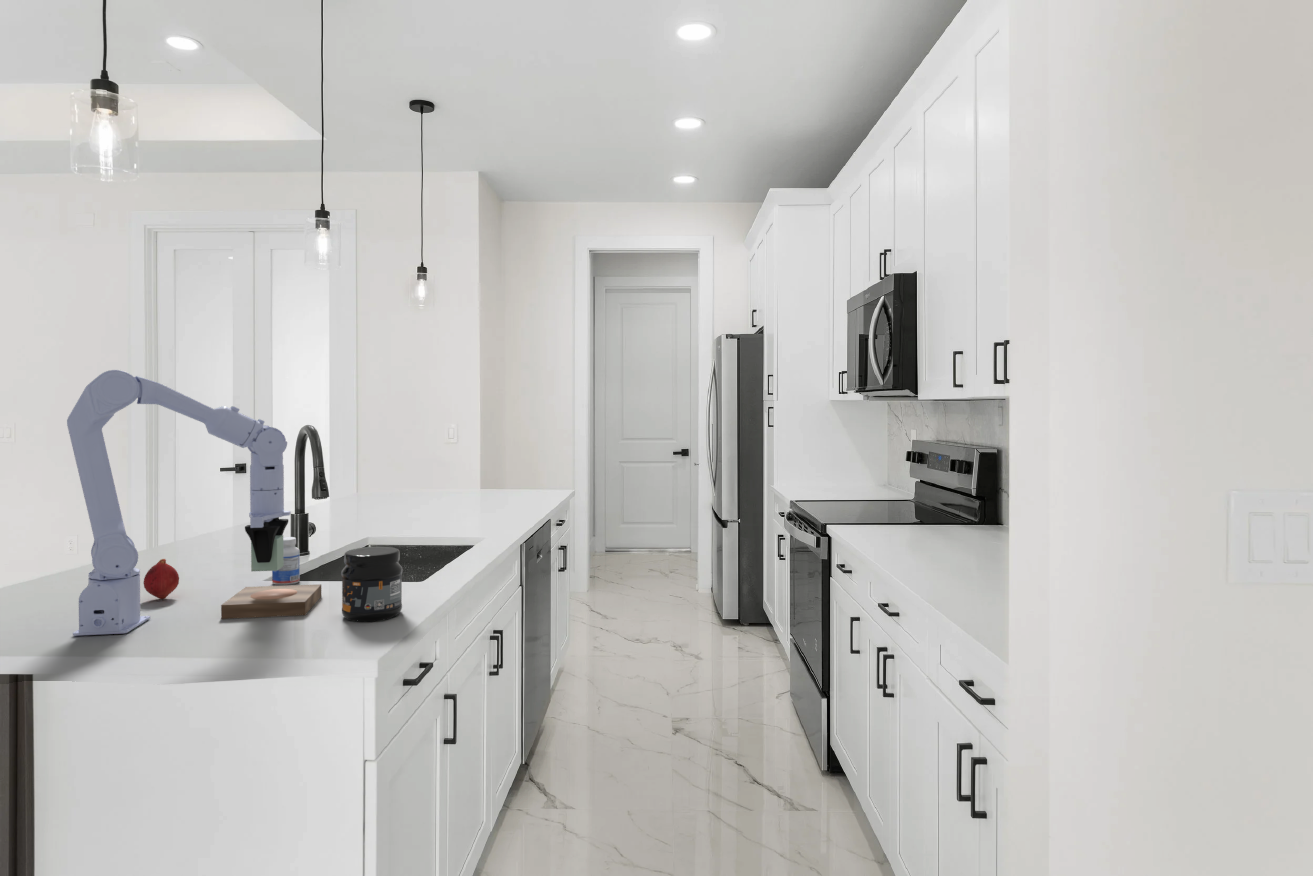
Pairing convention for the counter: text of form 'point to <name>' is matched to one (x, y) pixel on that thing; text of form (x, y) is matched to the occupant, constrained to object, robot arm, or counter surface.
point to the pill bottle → (288, 564)
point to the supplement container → (371, 584)
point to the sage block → (276, 557)
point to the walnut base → (271, 601)
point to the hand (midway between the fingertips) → (267, 559)
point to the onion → (161, 580)
